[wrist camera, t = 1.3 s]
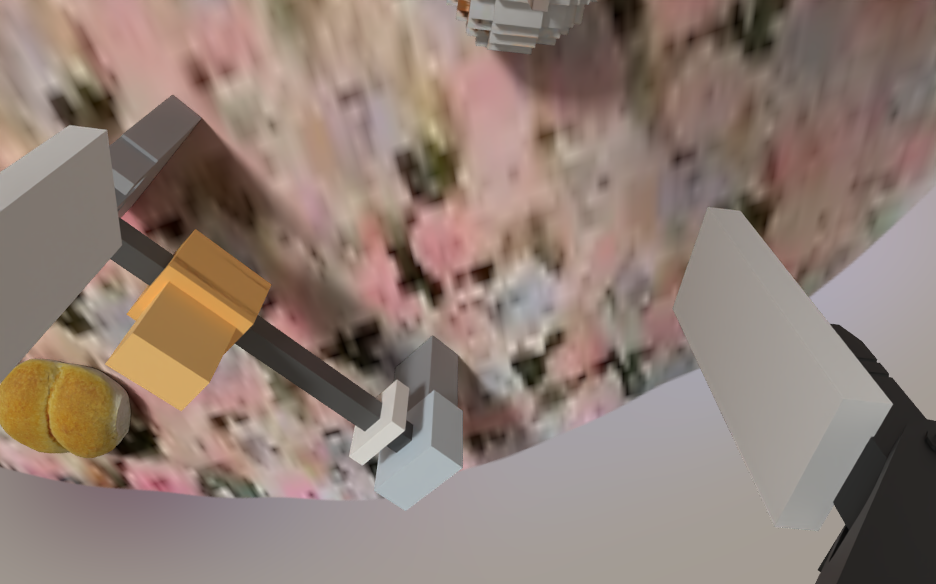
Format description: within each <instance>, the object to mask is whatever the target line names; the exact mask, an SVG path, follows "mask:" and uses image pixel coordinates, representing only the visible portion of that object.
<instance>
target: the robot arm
mask: <svg viewBox="0 0 936 584" xmlns="http://www.w3.org/2000/svg"><path fill="white" fill-rule="evenodd" d="M121 246H122V240H121V233H120V225H119V218H118V210H117V202H116V195H115V187H114V179H113V172H112V164H111V156H110V149H109V141H108V133H107V130H103V129H95V128H87V127H79V126H71V125H69V126H68V127H66V128H65V129H63V130H62V131H60V132H59V133H57V134H56V135H54V136H53V137H51V138H50V139H48V140H47V141H46V142H44V143H43V144H41V145H40V146H38V147H37V148H35V149H34V150H32V151H31V152H29V153H28V154H26V155H25V156H23V157H22V158H20V159H19V160H18V161H16V162H15V163H13V164H12V165H10V166H9V167H7V168H6V169H4V170H3V171H1V172H0V383H1V382H2V381H3V380H4V379H5V378H6V377H7V375H8V374H9V373H10V372H11V371H12V370H13V369H14V367H15V366H16V365H17V364H18V363H19V362H20V361H21V359H22V358H23V357H24V356H25V355H26V354H27V353H28V352H29V350H30V349H31V348H32V347H33V346H34V345H35V344H36V342H37V341H38V340H39V339H40V338H41V337H42V336H43V334H44V333H45V332H46V331H47V330H48V329H49V328H50V327H51V325H52V324H53V323H54V322H55V321H56V320H57V319H58V317H59V316H60V315H61V314H62V313H63V312H64V311H65V309H66V308H67V307H68V306H69V305H70V304H71V303H72V302H73V300H74V299H75V298H76V297H77V296H78V295H79V294H80V292H81V291H82V290H83V289H84V288H85V287H86V286H87V284H88V283H89V282H90V281H91V280H92V279H93V278H94V277H95V275H96V274H97V273H98V272H99V271H100V270H101V269H102V267H103V266H104V265H105V264H106V263H107V262H108V261H109V259H110V258H111V257H112V256H113V255H114V254H115V253H116V252H117V250H118V249H119V248H120V247H121ZM673 311H674V313H675V315H676V317H677V319H678V321H679V324H680V326H681V328H682V330H683V332H684V334H685V336H686V339H687V341H688V343H689V345H690V347H691V349H692V351H693V354H694V356H695V358H696V360H697V362H698V364H699V366H700V369H701V371H702V373H703V375H704V377H705V379H706V381H707V383H708V386H709V388H710V390H711V392H712V394H713V396H714V398H715V400H716V403H717V405H718V407H719V409H720V411H721V413H722V416H723V418H724V420H725V422H726V424H727V426H728V428H729V431H730V433H731V435H732V437H733V439H734V441H735V443H736V445H737V448H738V450H739V452H740V454H741V456H742V458H743V460H744V463H745V465H746V467H747V469H748V471H749V473H750V475H751V477H752V480H753V482H754V484H755V486H756V488H757V490H758V493H759V495H760V497H761V499H762V501H763V503H764V505H765V508H766V510H767V512H768V514H769V516H770V518H771V520H772V523H773V524H774V527H782V528H793V529H804V530H814V531H815V530H816V531H819V529H820V527H821V526H822V524H823V523H824V521H825V519H826V517H827V516H828V514H829V512H830V511H831V509H832V507H833V506H834V505H835V507H836V509H837V510H838V512H839V514H840V516H841V517H842V519H843V521H844V522H845V526H844V528H843V529H842V531H841V533H840V534H839V536H838V537H837V539H836V541H835V542H834V544H833V546H832V547H831V549H830V551H829V552H828V554H827V556H826V557H825V559H824V560H823V562H822V564H821V565H820V567H819V569H818V571H820V572H821V573H820V575H819V577H818V579H817V581H816V583H815V584H936V421H933V420H927V419H926V418H925V417H924V416H923V414H922V413H921V412H920V411H919V409H918V408H917V407H916V406H915V405H914V403H913V402H912V401H911V400H910V399H909V398H908V396H907V395H906V394H905V393H904V391H903V390H902V389H901V388H900V387H899V385H898V384H897V383H896V382H895V381H894V379H893V378H891V377H889V373H888V372H887V371H886V370H885V368H884V367H883V366H882V365H881V364H880V363H877V359H876V358H875V356H874V355H873V354H872V353H871V352H870V350H869V349H868V348H867V347H866V346H865V344H864V343H863V342H862V341H861V340H859V339H858V338H857V337H855V336H854V335H852V334H851V333H850V332H848V331H847V330H846V329H844V328H843V327H841V326H840V325H836V324H829V323H828V321H827V320H826V319H825V317H824V316H823V315H822V314H821V312H820V311H819V310H818V309H817V308H816V306H815V305H814V304H813V302H812V301H811V300H810V298H809V297H808V296H807V295H806V293H805V292H804V291H803V290H802V288H801V287H800V286H799V285H798V283H797V282H796V281H795V279H794V278H793V277H792V276H791V274H790V273H789V272H788V271H787V269H786V268H785V267H784V266H783V264H782V263H781V262H780V260H779V259H778V258H777V257H776V255H775V254H774V253H773V252H772V250H771V249H770V248H769V247H768V245H767V244H766V243H765V241H764V240H763V239H762V238H761V236H760V235H759V234H758V233H757V231H756V230H755V229H754V228H753V226H752V225H751V224H750V222H749V221H748V220H747V219H746V217H745V216H744V215H743V214H742V212H741V211H737V210H729V209H721V208H713V207H708V208H707V210H706V213H705V216H704V219H703V222H702V225H701V228H700V231H699V234H698V237H697V239H696V242H695V245H694V248H693V251H692V254H691V257H690V260H689V263H688V266H687V268H686V271H685V274H684V277H683V280H682V283H681V286H680V289H679V292H678V295H677V297H676V300H675V303H674V306H673Z"/></svg>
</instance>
